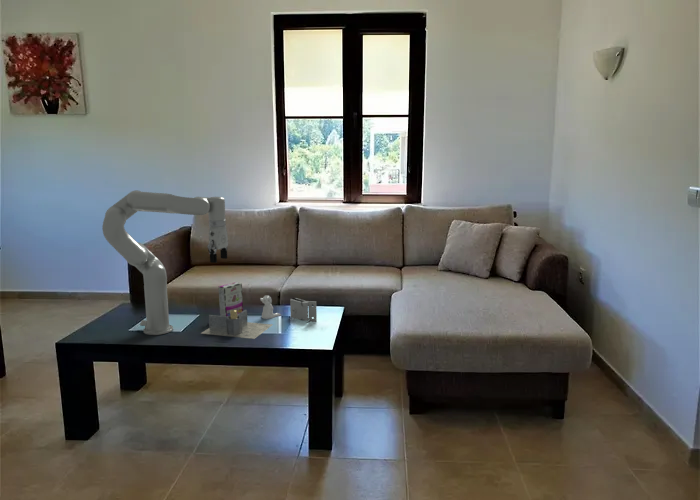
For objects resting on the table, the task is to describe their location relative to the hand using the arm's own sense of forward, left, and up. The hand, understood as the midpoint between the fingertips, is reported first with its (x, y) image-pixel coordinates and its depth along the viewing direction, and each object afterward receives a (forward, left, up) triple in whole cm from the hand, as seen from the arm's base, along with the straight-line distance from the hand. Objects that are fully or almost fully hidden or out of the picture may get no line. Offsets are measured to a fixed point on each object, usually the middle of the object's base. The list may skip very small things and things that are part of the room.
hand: (218, 260), depth 252 cm
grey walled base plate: (+13, -9, -30) cm, 34 cm away
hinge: (+36, +14, -31) cm, 49 cm away
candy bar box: (0, +10, -31) cm, 32 cm away
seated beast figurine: (+19, +12, -31) cm, 38 cm away
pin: (+14, -14, -29) cm, 35 cm away
